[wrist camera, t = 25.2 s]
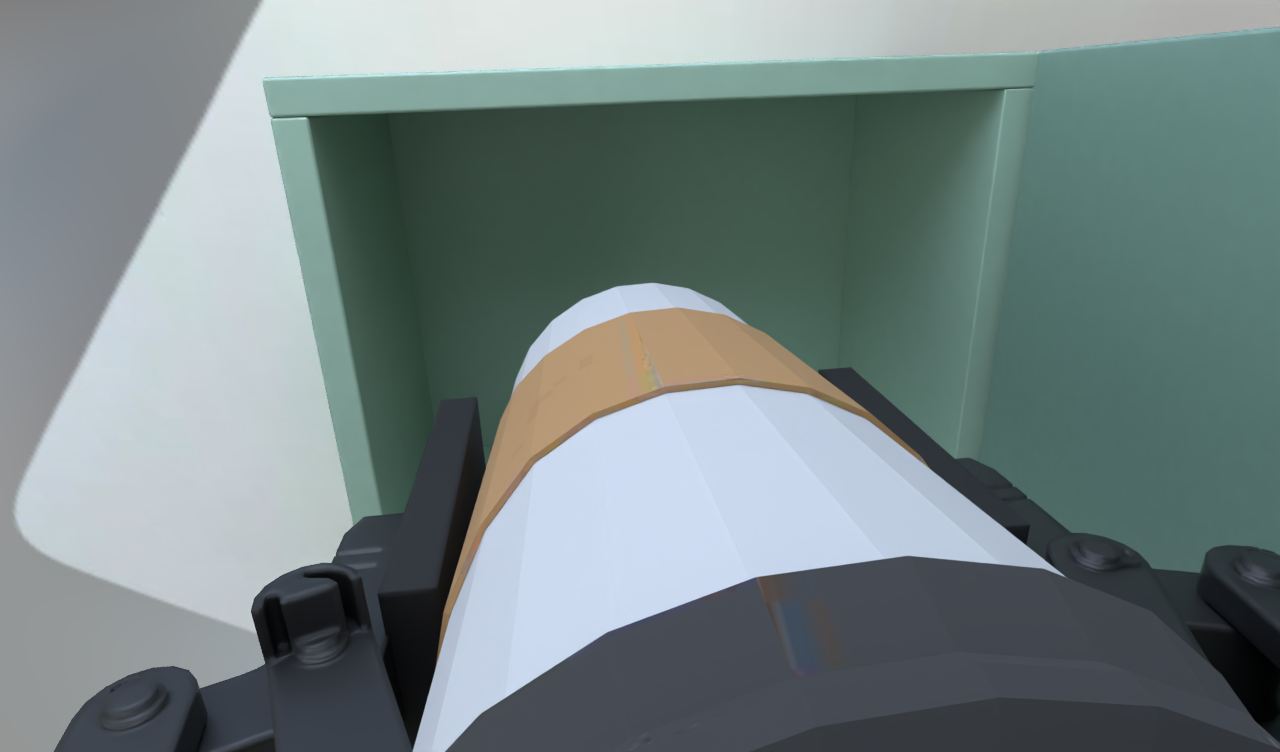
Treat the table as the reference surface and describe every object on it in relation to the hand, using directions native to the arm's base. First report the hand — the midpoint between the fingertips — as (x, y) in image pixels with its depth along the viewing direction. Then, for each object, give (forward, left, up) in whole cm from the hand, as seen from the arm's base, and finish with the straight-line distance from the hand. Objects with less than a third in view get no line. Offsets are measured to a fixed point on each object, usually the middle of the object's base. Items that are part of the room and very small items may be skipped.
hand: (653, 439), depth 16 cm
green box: (+1, 0, -16) cm, 16 cm away
